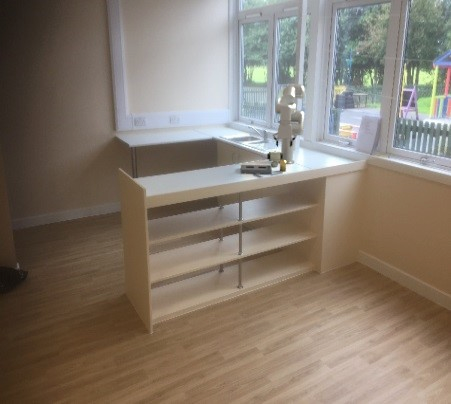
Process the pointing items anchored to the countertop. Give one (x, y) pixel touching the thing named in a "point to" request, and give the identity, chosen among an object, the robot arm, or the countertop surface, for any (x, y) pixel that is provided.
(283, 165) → the bushing
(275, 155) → the pneumatic valve
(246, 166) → the jig
